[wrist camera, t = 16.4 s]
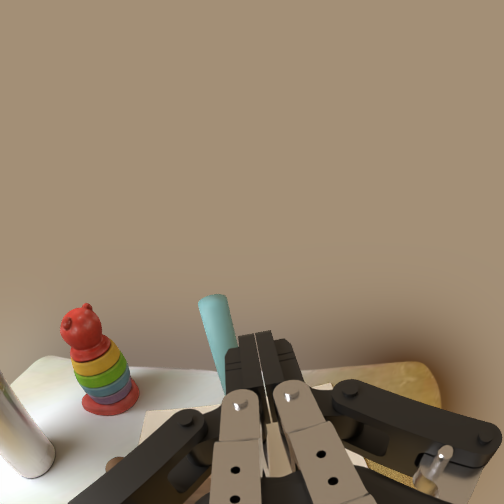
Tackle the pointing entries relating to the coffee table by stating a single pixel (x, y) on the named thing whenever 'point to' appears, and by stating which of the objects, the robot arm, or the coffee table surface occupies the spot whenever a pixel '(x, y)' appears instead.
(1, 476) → the coffee table surface
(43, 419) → the coffee table surface
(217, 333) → the l-shaped post
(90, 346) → the stacking bear
